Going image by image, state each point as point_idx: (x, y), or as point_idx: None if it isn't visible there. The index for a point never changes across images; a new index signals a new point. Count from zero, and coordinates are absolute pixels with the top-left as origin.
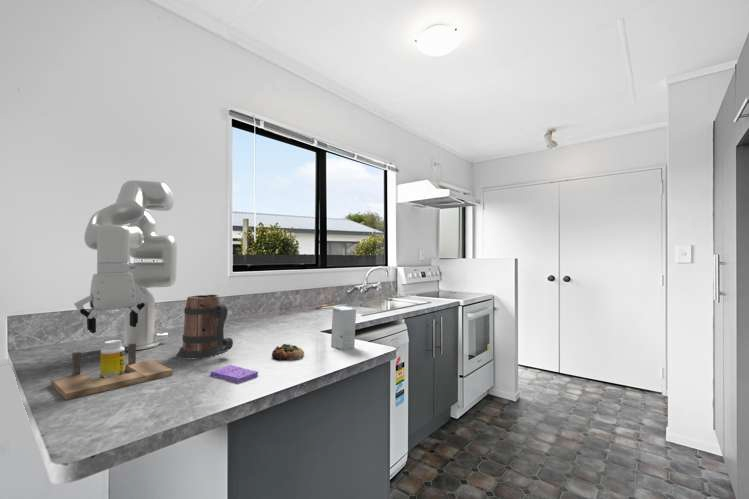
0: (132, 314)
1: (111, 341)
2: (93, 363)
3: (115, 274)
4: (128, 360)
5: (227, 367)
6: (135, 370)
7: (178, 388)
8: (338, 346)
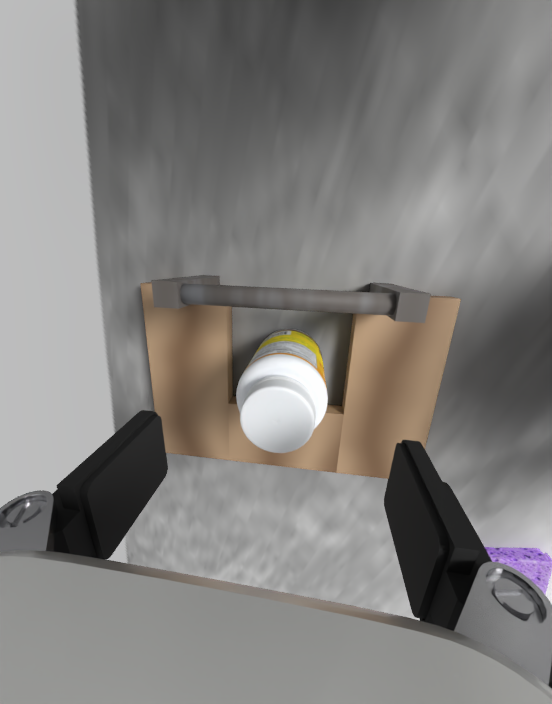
0: (418, 595)
1: (270, 415)
2: (317, 44)
3: None
4: (377, 287)
5: (525, 571)
6: (345, 397)
7: (355, 559)
8: None
